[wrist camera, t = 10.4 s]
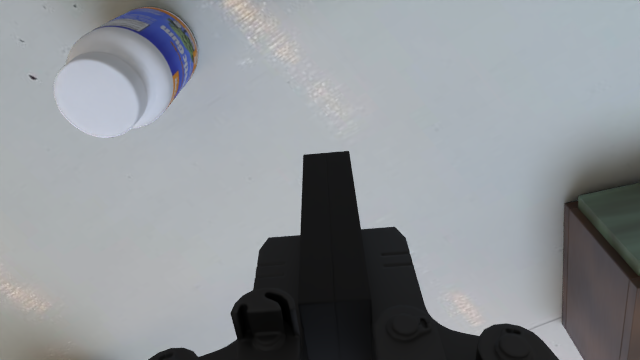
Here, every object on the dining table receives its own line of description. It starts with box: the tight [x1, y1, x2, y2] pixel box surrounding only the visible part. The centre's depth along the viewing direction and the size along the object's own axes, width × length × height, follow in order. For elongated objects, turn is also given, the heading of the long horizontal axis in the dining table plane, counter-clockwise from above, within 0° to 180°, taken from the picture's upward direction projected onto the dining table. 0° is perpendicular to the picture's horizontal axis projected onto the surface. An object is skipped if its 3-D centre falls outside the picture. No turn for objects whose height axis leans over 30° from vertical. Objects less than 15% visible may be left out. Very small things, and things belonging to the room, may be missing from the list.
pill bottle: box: [54, 7, 198, 138], centre depth 26 cm, size 5×5×10 cm
